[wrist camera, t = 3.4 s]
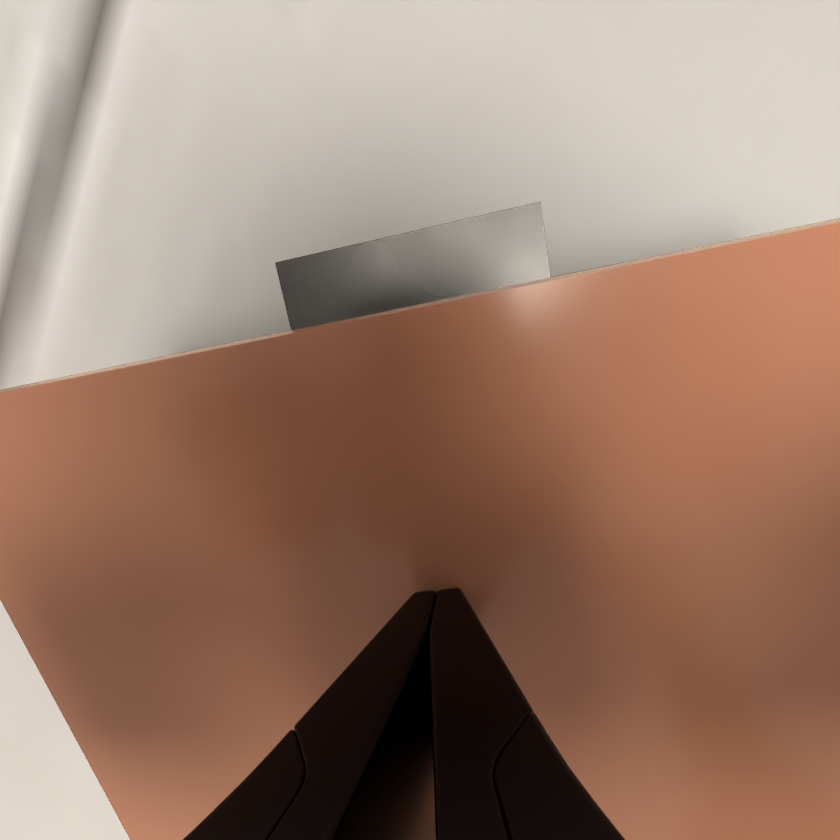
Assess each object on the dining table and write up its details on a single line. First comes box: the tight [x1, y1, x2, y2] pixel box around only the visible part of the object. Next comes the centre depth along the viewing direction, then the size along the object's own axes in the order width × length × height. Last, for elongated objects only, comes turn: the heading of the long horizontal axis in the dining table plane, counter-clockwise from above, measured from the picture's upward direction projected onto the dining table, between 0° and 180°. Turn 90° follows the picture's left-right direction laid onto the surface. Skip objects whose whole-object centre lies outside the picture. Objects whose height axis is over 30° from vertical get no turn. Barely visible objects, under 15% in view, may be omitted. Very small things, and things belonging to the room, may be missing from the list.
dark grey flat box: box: [275, 202, 550, 330], centre depth 13 cm, size 18×18×5 cm
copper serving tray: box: [0, 218, 840, 840], centre depth 10 cm, size 16×18×1 cm
